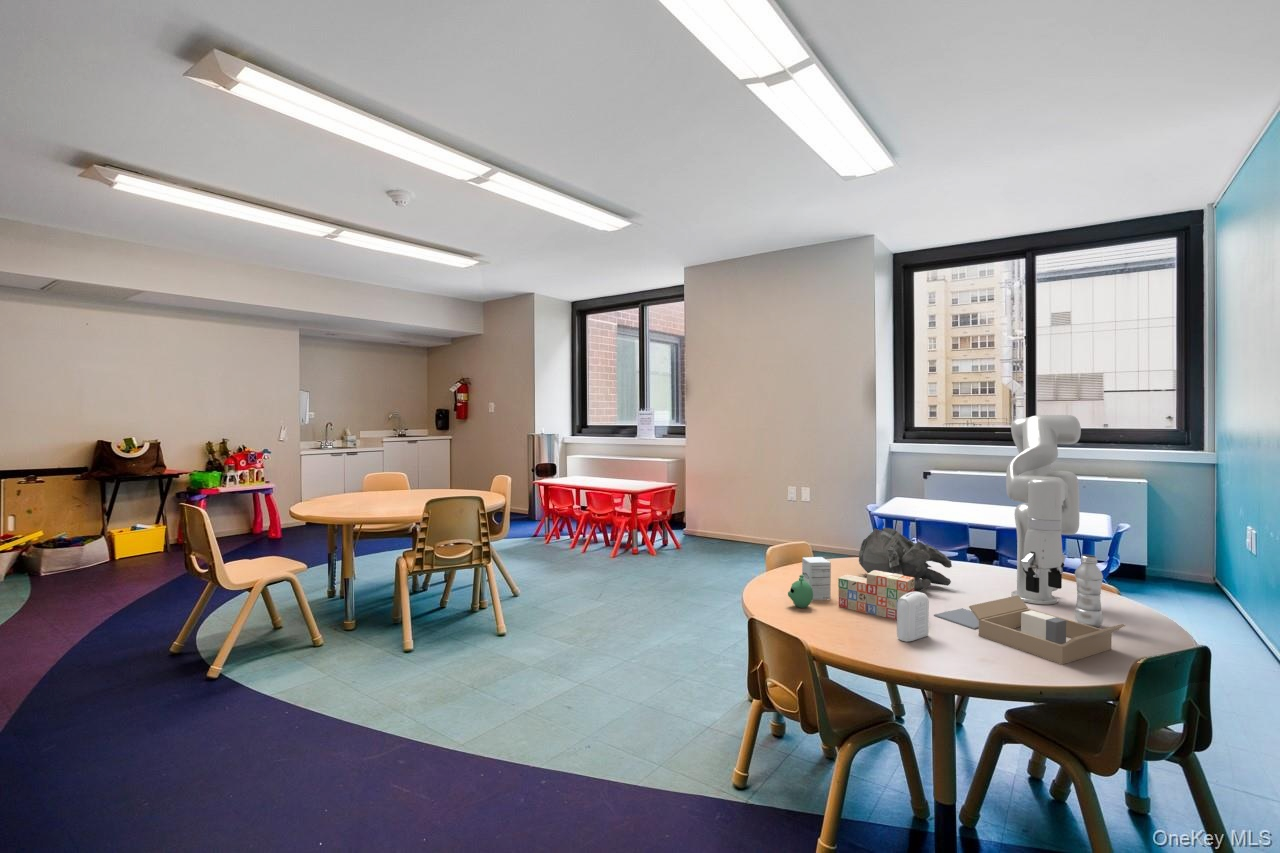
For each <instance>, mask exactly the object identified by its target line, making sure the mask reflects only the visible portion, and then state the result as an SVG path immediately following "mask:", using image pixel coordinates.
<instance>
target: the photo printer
mask: <svg viewBox="0 0 1280 853" xmlns="http://www.w3.org/2000/svg"><path fill="white" fill-rule="evenodd" d="M929 602H930V599H929V597H928V595H927V594H926V593H925V592H921V591H915V592H910V593H907V594H905V595H903V596H902V597H901V598H900V599H899V600H898V602H897V620H896V637H897V639H898V640H900V641H903V642H906V643H907V642H914V641H916V640H919V639H922V638H925V637H927V636H928V635H929V632H930V631H929V628H930V626H929V625H930V624H929V623H930V622H929V619H930V618H929V616H930V615H929V614H930V612H929V611H930V610H929V608H930V603H929Z"/></svg>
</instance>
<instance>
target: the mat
mask: <svg viewBox="0 0 1280 853" xmlns="http://www.w3.org/2000/svg"><path fill="white" fill-rule="evenodd" d="M933 616H934V617H937V618H939V619H942V620H945V621H948V622H951V623H953V624H958V625H960V626H963V627H966V628H968V629H972V630H976V629H978V630H979V620H978V619H977V618H976V616H975V615H974V614H973V612H972V611H971V609H970V610H969V609H966V608H957V609H953V610H948V611H944V612H939V613H935V614H933Z"/></svg>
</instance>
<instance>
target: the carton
mask: <svg viewBox="0 0 1280 853" xmlns="http://www.w3.org/2000/svg"><path fill="white" fill-rule="evenodd" d="M968 608H969V609H970V611H972V612H973V614H974V615H975V616H976V618H977V619H978V620H979V628H978V637H981V636H982V638H984V639H988V640H990V639H991V640H990V641H993V642H997V643H999V644H1001V643H1002V645H1005V646H1008V647H1010V646H1011V648H1013V647H1014V648H1013V649H1016V648H1018V649H1017V650H1019V649H1020V650H1019V651H1022V650H1023V651H1022V652H1024V651H1026V652H1025V653H1027V652H1029V653H1028V654H1030V653H1032V654H1031V655H1033V654H1035V655H1034V656H1036V655H1038V656H1037V657H1039V656H1041V657H1040V658H1042V657H1044V658H1043V659H1045V658H1046V659H1045V660H1047V659H1049V660H1048V661H1050V660H1051V662H1053V661H1054V662H1053V663H1056V662H1057V664H1059V663H1060V664H1059V665H1064V664H1065V663H1066V664H1068V663H1071V662H1074V661H1078V660H1082V659H1084V658H1088V657H1090V656H1094V655H1097V654H1101V653H1104V652H1107V651H1110V650H1112V642H1113V640H1112V638H1113V637H1112V635H1113V633H1115V632H1117V631H1118V630H1120V629H1122V628H1124V627H1125V626H1126V624H1125V623H1121V624H1117V625H1113V626H1110V627H1105V628H1103V629H1102V628H1099V627H1094V626H1089V625H1085V624H1082V623H1078V622H1077V621H1076V620H1075V621H1074V620H1071V619H1067V618H1065V617H1060V616H1056V615H1053V614H1049V613H1046V612H1043V611H1038V610H1035V609H1032V608H1029V607H1028V605H1027V604H1026V602H1023V601H1022V599H1021V598H1020V597H1019V595H1018V596H1013V597H1012V596H1010V597H1005V598H999V599H995V600H991V601H985V602H981V603H976V604H973V605H969V606H968ZM1030 610H1032V611H1036V612H1039V613H1043V614H1046V615H1050V616H1053V617H1057V618H1061V619H1064V620H1066V638H1071V639H1069V640H1068V641H1067V640H1066V643H1064V644H1061V645H1060V644H1057V643H1054V642H1051V641H1048V640H1045V639H1042V638H1039V637H1036V636H1032V635H1029V634H1026V633H1023V632H1021V630H1016V628H1015V627H1017V628H1020V627H1019V626H1021V613H1022V612H1026V611H1030ZM1012 628H1013V629H1012Z"/></svg>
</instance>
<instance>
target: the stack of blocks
mask: <svg viewBox="0 0 1280 853" xmlns="http://www.w3.org/2000/svg"><path fill="white" fill-rule="evenodd" d="M914 581H915V578H914V577H909V576H904V575H901V574H896V573H894V574H893V573H888V572H882V571H877V570H873V571H871V572H870V573H866V577H863V576H857V575H852V574H844V575H842V576H840V577H838V607H840V608H843V609H848V610H852V611H856V612H860V611H861V613H866V614H869V613H870V614H869V615H874V616H879V617H883V618H887V619H891V618H893V619H892V620H896V619H897V602H898V600H899V599H900V598H901V597H902V596H903V595H905V594H907V593H910V592H916V591H914V590H915V588H914Z"/></svg>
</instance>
